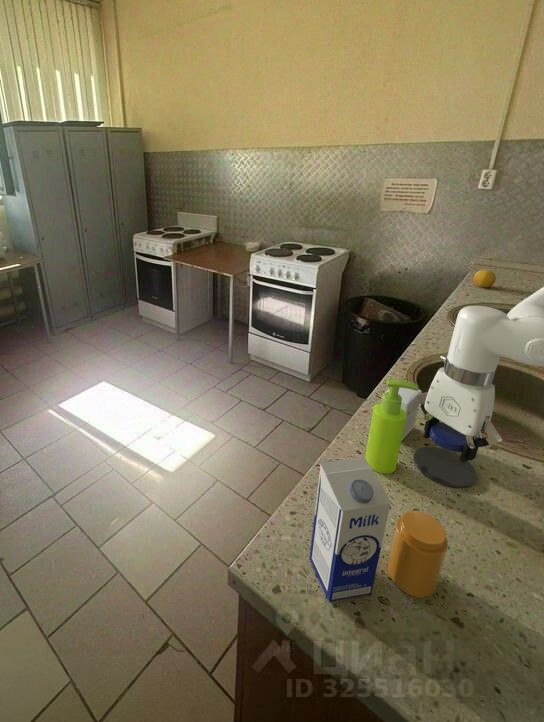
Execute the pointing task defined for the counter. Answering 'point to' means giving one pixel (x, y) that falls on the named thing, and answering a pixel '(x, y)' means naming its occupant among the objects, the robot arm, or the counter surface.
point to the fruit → (484, 278)
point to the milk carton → (348, 527)
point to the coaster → (444, 467)
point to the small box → (409, 407)
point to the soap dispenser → (387, 428)
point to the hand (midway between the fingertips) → (447, 447)
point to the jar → (417, 553)
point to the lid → (447, 437)
